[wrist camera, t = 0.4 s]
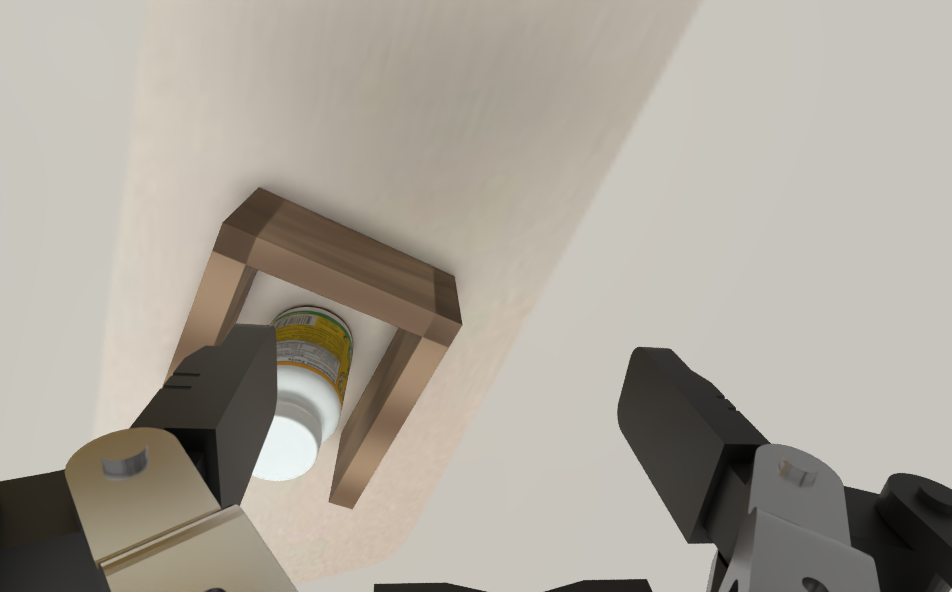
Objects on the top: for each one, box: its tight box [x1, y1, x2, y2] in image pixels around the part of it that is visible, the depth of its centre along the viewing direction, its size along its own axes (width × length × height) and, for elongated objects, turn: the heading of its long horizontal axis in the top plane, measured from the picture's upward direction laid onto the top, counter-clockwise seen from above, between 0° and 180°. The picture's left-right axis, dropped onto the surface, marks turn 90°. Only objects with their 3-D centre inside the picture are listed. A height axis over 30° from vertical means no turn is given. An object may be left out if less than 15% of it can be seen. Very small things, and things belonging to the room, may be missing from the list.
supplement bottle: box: [252, 307, 353, 481], centre depth 29 cm, size 5×5×10 cm
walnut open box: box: [162, 188, 462, 509], centre depth 30 cm, size 14×12×6 cm
